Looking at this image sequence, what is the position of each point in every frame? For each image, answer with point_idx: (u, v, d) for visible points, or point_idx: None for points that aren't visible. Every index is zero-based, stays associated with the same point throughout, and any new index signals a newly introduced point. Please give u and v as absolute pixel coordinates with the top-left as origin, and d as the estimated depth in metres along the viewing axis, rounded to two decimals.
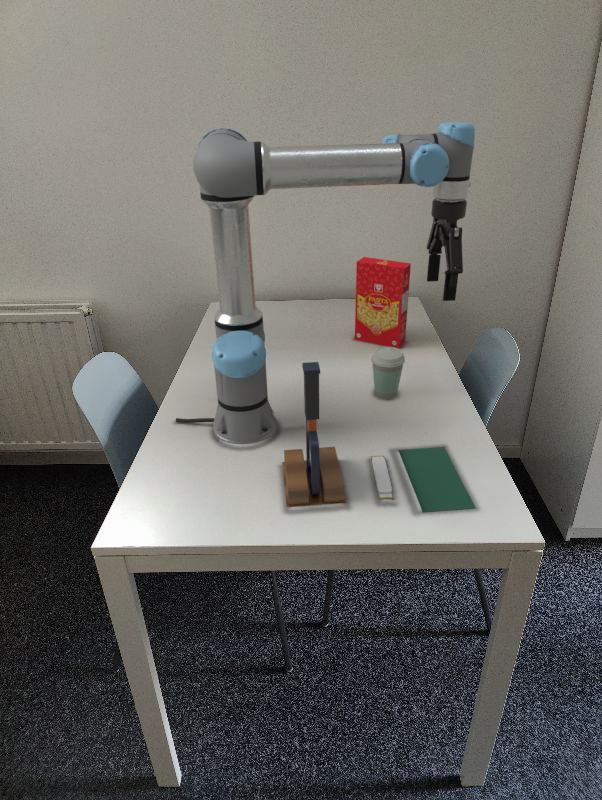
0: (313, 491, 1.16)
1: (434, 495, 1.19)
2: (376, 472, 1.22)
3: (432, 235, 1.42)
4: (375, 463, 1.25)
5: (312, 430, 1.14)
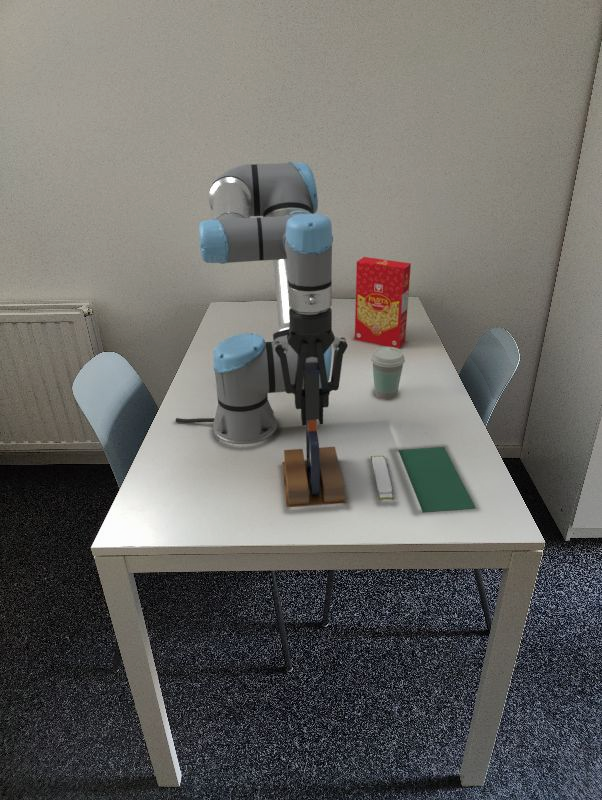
0: (313, 491, 1.16)
1: (434, 495, 1.19)
2: (376, 472, 1.22)
3: (333, 362, 1.09)
4: (375, 463, 1.25)
5: (312, 430, 1.14)
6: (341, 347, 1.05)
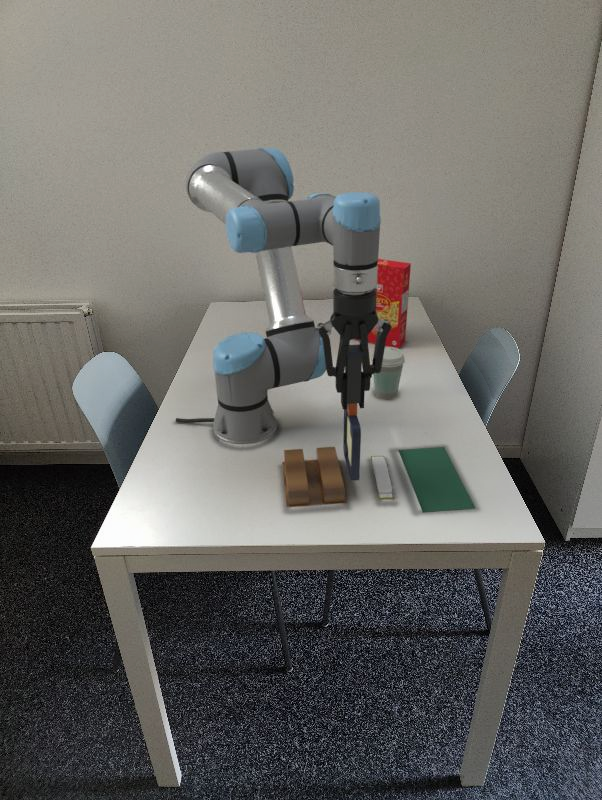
0: (353, 476, 1.15)
1: (434, 495, 1.19)
2: (376, 472, 1.22)
3: (375, 345, 1.08)
4: (375, 463, 1.25)
5: (352, 414, 1.13)
6: (385, 329, 1.04)
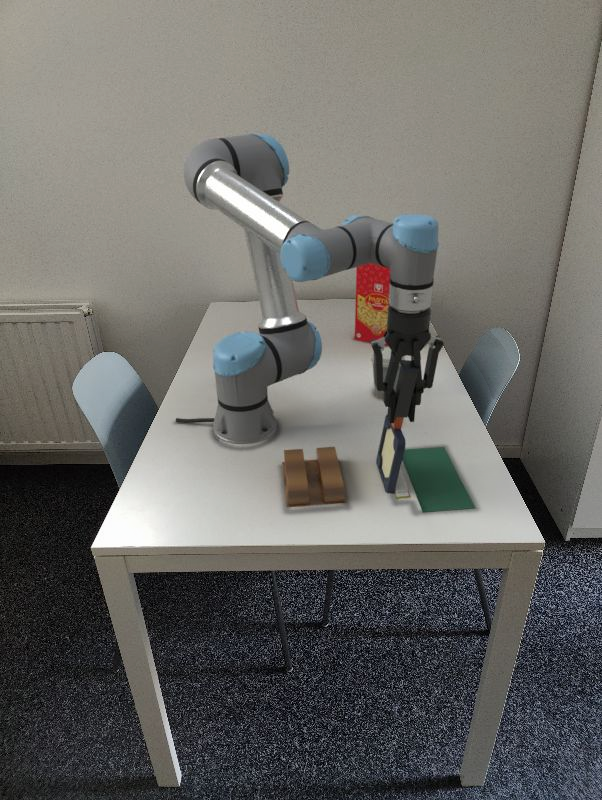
0: (389, 488, 1.17)
1: (434, 495, 1.19)
2: None
3: (427, 360, 1.10)
4: None
5: (397, 427, 1.15)
6: (437, 345, 1.07)
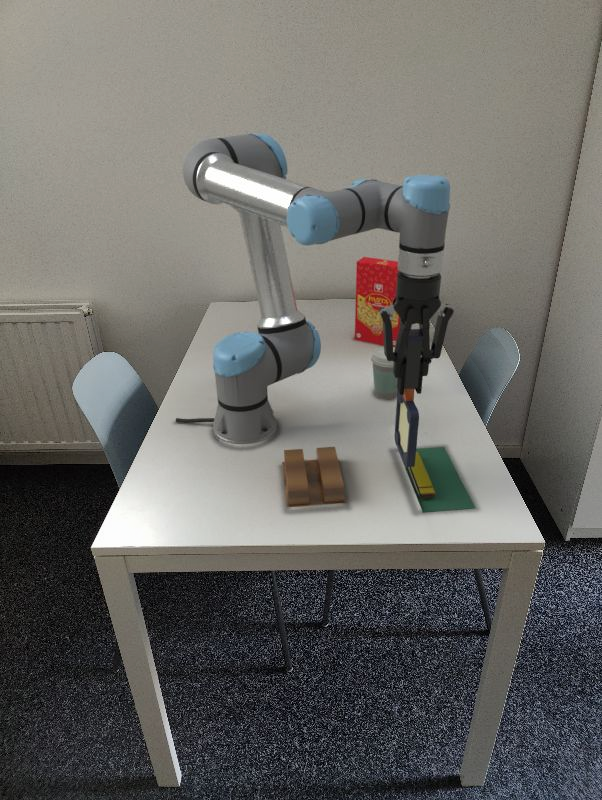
0: (408, 462, 1.14)
1: None
2: None
3: (435, 329, 1.08)
4: None
5: (409, 400, 1.13)
6: (447, 313, 1.04)
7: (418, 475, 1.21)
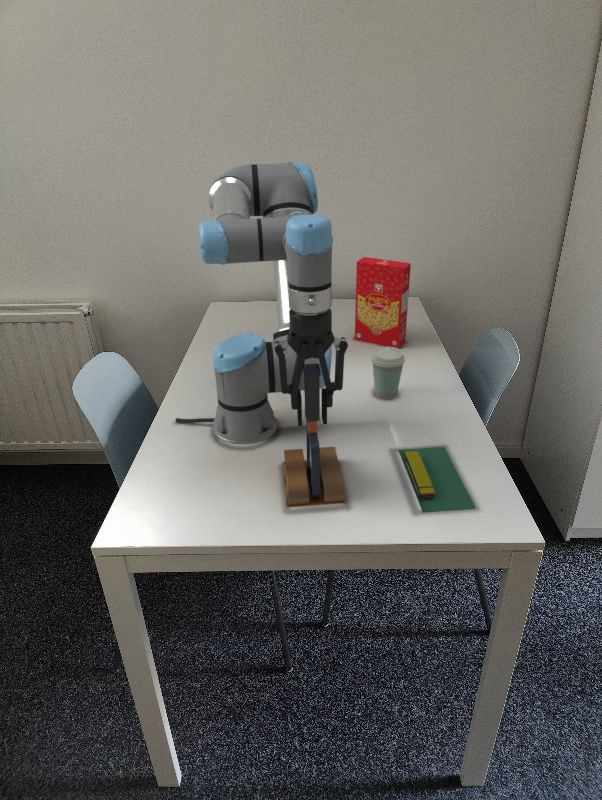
0: (313, 493, 1.16)
1: None
2: None
3: (335, 362, 1.09)
4: None
5: (312, 432, 1.14)
6: (342, 347, 1.05)
7: (418, 475, 1.21)
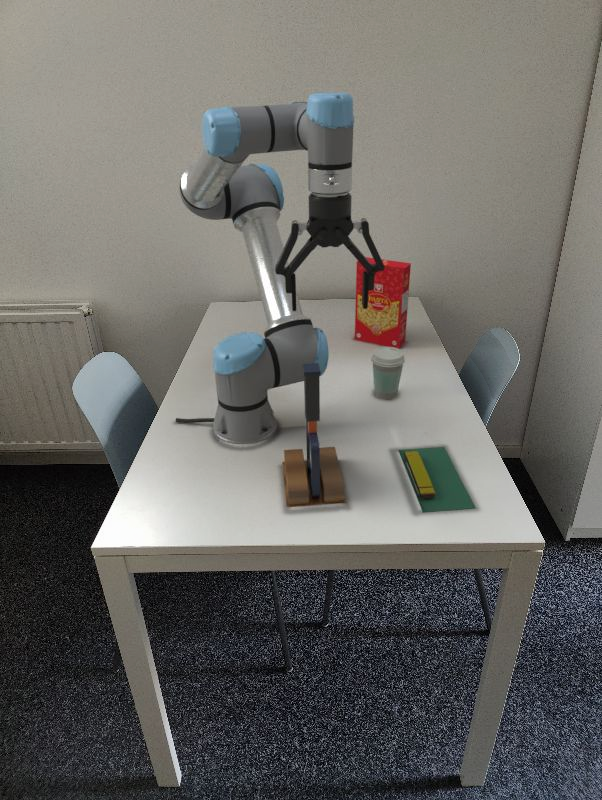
0: (313, 493, 1.16)
1: None
2: None
3: None
4: None
5: (312, 431, 1.14)
6: (363, 227, 1.04)
7: (418, 475, 1.21)
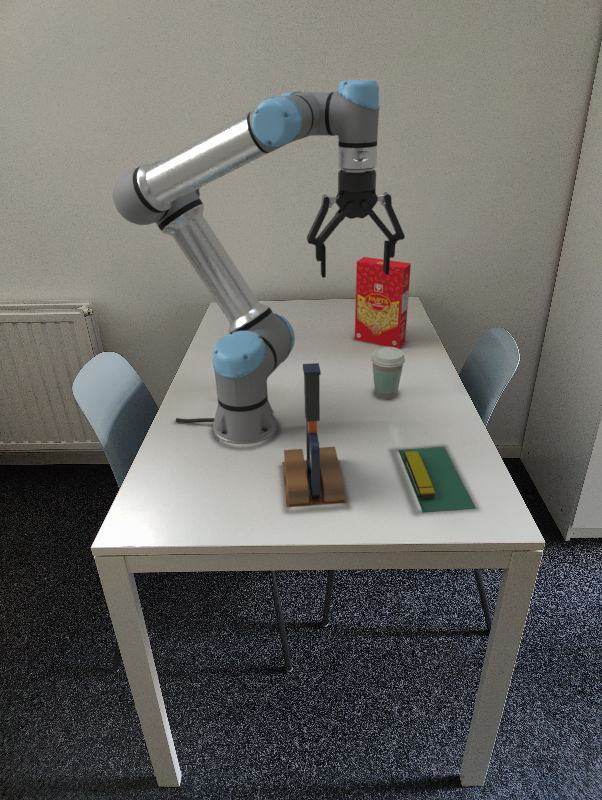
0: (313, 493, 1.16)
1: None
2: None
3: (389, 217, 1.21)
4: None
5: (312, 431, 1.14)
6: (386, 200, 1.17)
7: (418, 475, 1.21)
